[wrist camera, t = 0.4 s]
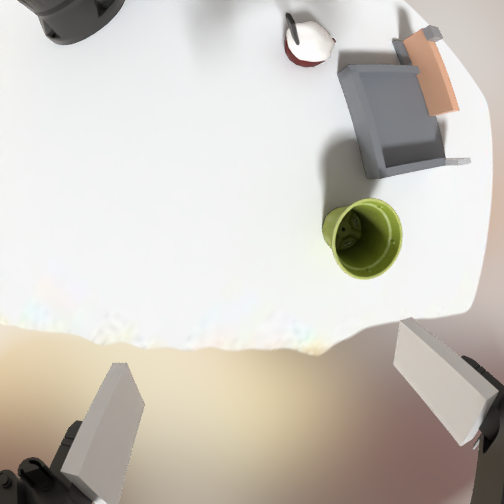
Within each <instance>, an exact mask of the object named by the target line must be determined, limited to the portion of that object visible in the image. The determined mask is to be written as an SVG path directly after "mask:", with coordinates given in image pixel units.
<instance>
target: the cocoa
mask: <svg viewBox="0 0 504 504" xmlns="http://www.w3.org/2000/svg"><path fill="white" fill-rule="evenodd" d="M286 19H287V22H288V25H289V28H288V30H287V31H286V32H287V36H286V38H285V53H286V54H287V56H288V58H289V59H290V60H291V61H292V62H293V63H295V64H296V65H299V66H302V67H314V66H316V65H318V64H320V63H322V62H324V61H325V60H327V59H328V58H330V55H331V51H332V49H333V48H334V43H335V42H336V41H335V39H334V38H331V37H330V35H329V34H328V32H327V31H326V30H325V29H323V28H322V27H321V26H320V25H319V24H317V23H316V22H313V21H308V22H304V23H295V21H294V20H293V18H292V16H291V15H290V14H289V13H286Z"/></svg>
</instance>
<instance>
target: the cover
mask: <svg viewBox="0 0 504 504" xmlns="http://www.w3.org/2000/svg"><path fill="white" fill-rule="evenodd" d="M442 38H443V37H442V35H441V33H440V31H439V29H438V27H435V26H430V25H429V26H427V27H426V28H424V29H423V28H422V29H420V30H419V31H417V32H416V33H414V34H413V35H411V36H410V37H408V38H407V39H405V40H404V41H403V43H404V45H405V48H406V50H407V52H408V55H409V57H410V60H411V62H412V65H413V66H418V67H419V70H420V72H421V73H420V74H418V75H417V78H418V81H419V84H420V87H421V90H422V93H423V96H424V99H425V102H426V106H427V109H428V113H429V116H437V115H441V114H445V113H450V112H454V111H459V107H458V104H457V100H456V97H455V94H454V91H453V88H452V85H451V82H450V79H449V76H448V73H447V71H446V68H445V65H444V63H443V60H442V58H441V55H440V53H439V51H438V48H437V46H436V44H435V42H437V41H439V40H440V39H442Z"/></svg>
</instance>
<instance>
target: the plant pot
mask: <svg viewBox="0 0 504 504" xmlns="http://www.w3.org/2000/svg"><path fill="white" fill-rule="evenodd" d="M353 218H356V220H357V222H358V226H356V224H355V221H354V219H353ZM342 228H345V230H344V231H342ZM322 232H323V237H324V239H325V241H326V243H327V244H328V245H329V246H330V248H331V249H332V251H333V255H334V258H335V260H336V262H337V264H338V265H339V267H340V268H341V269H342V270H343V271H344V272H345V273H346V274H348V275H349V276H351V277H353V278H356V279H361V280H367V279H372V278H375V277H378V276H380V275H382V274H383V273H384V272H386V271H387V270H388V269H389V268H390V267H391V266H392V264H393V263H394V262H395V260H396V259H397V257H398V255H399V252H400V249H401V245H402V226H401V223H400V219H399V217H398V215H397V213H396V212H395V210H394V209H393V208H392V207H391V206H390V205H389V204H387V203H386V202H384V201H382V200H380V199H376V198H365V199H361V200H358V201H356V202H354V203H352V204H351V205H350V206H345V207H339V208H336V209H334V210H332V211H331V212H330V213H329V214H328V215H327V216H326V218H325V221H324V224H323V227H322ZM350 241H352V242H351V243H350V244H349V245H347V246H344V244H346V243H348V242H350Z"/></svg>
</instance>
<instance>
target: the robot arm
mask: <svg viewBox="0 0 504 504" xmlns="http://www.w3.org/2000/svg"><path fill="white" fill-rule="evenodd" d="M18 1H19V2H20V3H22V4H23V5H24V6H26V7H27V8H28V9H30V10H31V11H32V12H34V13H35V14H36V15H37V16H38V18H39V21H40V23H41V26H42V28H43V31H44V33H45V35H46V36H47V37H48V38H49V39H50V40H51V41H53V42H54V43H56V44H59V45H68V44H73V43H76V42H79V41H81V40H83V39H86V38H87V37H89V36H91V35H93V34H94V33H96V32H97V31H98V30H100V29H101V28H102V27H104V26H105V25H106V24H107V23H108V22H109V21H110V20H111V19H112V18H113V17H114V16H115V15H116V14H117V12H118V11H119V10H120V8H121V6H122V5H123V3H124V0H18ZM393 365H394V366H395V367H396V368H397V369H398V371H399V372H400V373H401V374H402V375H403V376H404V378H405V379H406V380H407V381H408V382H409V384H410V385H411V386H412V387H413V388H414V390H415V391H416V392H417V393H418V394H419V395H420V397H421V398H422V399H423V400H424V402H425V403H426V404H427V405H428V406H429V408H430V409H431V410H432V411H433V413H434V414H435V415H436V416H437V418H438V419H439V420H440V421H441V422H442V423H443V425H444V426H445V427H446V429H447V430H448V431H449V432H450V434H451V435H452V436H453V438H454V439H455V440H456V441H457V442H458V444H459V445H460V446H462V445H463V444H465V443H467V442H468V441H470V440H471V439H472V438H473V437H474V436H475V434H476V433H477V431H478V429H479V430H480V431H481V432H482V433H481V435H480V436H479V438H478V439H477V441H476V443H475V444H474V446H473V449H475V448H476V446H477V445H478V443H479V448H478V449H479V453H478V462H477V470H476V477H475V483H474V488H473V494H472V499H471V503H470V504H504V386H503V385H502V384H501V383H500V382H499V381H498V380H497V379H495V378H494V377H493V376H492V375H491V374H490V373H489V372H486V370H485V369H484V368H483V367H482V366H481V367H480V365H479V364H478V363H477V362H476V361H474V360H473V359H471V358H469V357H466V356H462V357H460V356H459V355H457V354H456V353H455V352H454V351H453V350H451V349H450V348H449V347H448V346H447V345H445V344H444V343H443V342H442V341H441V340H439V339H438V338H437V337H436V336H434V335H433V334H432V333H431V332H430V331H428V330H427V329H426V328H425V327H424V326H422V325H421V324H420V323H419V322H417V321H416V320H415V319H414V318H412V317H410V318H407V319H404V320H400V324H399V332H398V338H397V346H396V351H395V357H394V363H393ZM144 406H145V403H144V401H143V399H142V397H141V395H140V393H139V390H138V388H137V386H136V384H135V381H134V379H133V377H132V374H131V372H130V369H129V367H128V364H127V363H113V364H112V366H111V368H110V370H109V372H108V373H107V375H106V377H105V379H104V381H103V383H102V385H101V386H100V388H99V390H98V392H97V394H96V396H95V398H94V400H93V402H92V404H91V406H90V408H89V410H88V412H87V414H86V416H85V418H84V420H83V421H76V422H74V423H73V424H72V425H71V426H70V427H69V428H68V430H67V433H66V434H65V438H63V440H62V442H61V445H60V447H59V449H58V451H57V453H56V455H55V457H54V459H53V461H52V464H51V466H50V468H48V467H47V466H46V465H45V463H44V462H43V461H41V460H40V459H39V458H34V457H32V458H27V459H25V460H23V462H22V463H21V464H20V465H19V468H18V475H19V476H20V477H21V478H19V477H17V476H16V475H15V474H14V473H13V472H12V471H10V470H2V471H1V472H0V504H92V502H93V503H95V504H119V499H120V495H121V491H122V487H123V483H124V479H125V475H126V471H127V466H128V463H129V459H130V455H131V452H132V448H133V444H134V440H135V437H136V434H137V430H138V427H139V423H140V420H141V416H142V413H143V409H144Z"/></svg>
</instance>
